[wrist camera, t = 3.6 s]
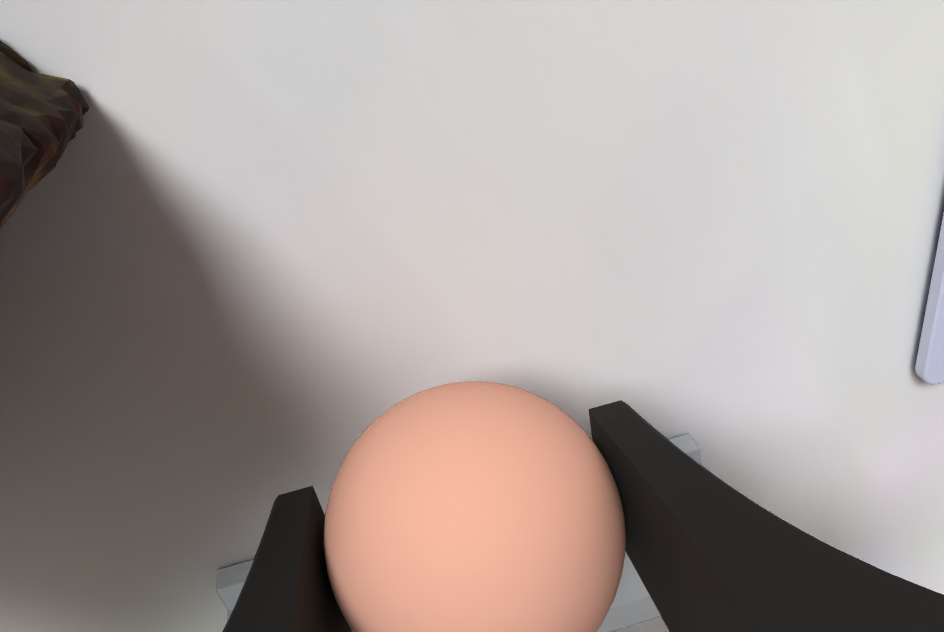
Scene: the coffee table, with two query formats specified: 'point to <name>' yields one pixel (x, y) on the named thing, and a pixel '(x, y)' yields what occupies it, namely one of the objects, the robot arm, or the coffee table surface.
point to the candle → (32, 126)
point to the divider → (623, 612)
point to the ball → (474, 518)
